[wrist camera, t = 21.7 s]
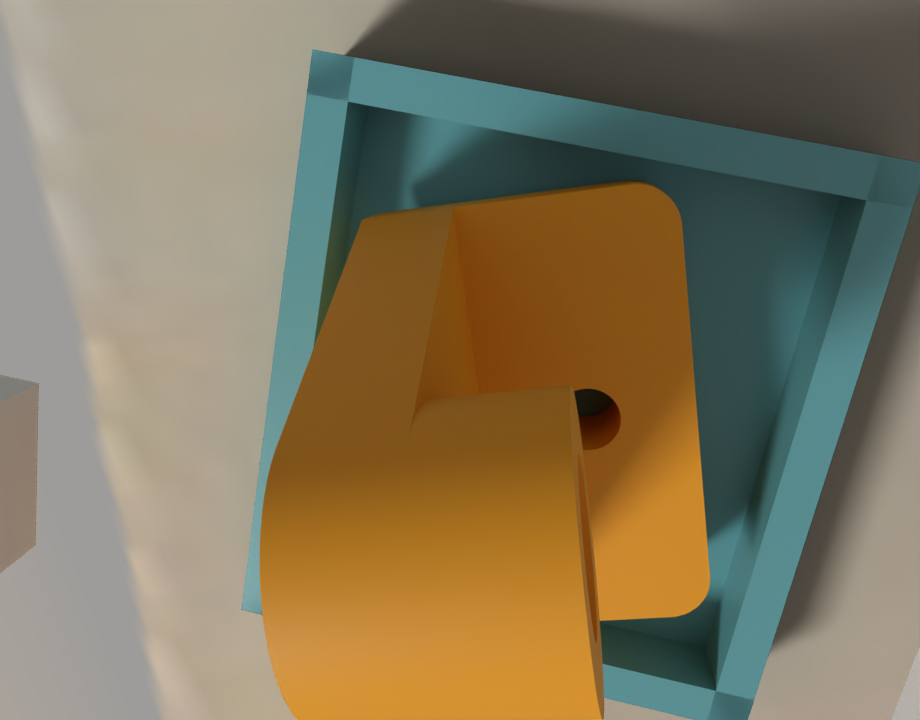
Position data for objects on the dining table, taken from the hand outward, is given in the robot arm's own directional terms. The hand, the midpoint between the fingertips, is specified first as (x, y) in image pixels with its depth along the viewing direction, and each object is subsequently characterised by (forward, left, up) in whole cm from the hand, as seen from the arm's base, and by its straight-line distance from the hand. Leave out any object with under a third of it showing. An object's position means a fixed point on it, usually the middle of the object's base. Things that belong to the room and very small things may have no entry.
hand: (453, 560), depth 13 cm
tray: (+1, +1, -12) cm, 12 cm away
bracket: (+1, +1, -12) cm, 12 cm away
